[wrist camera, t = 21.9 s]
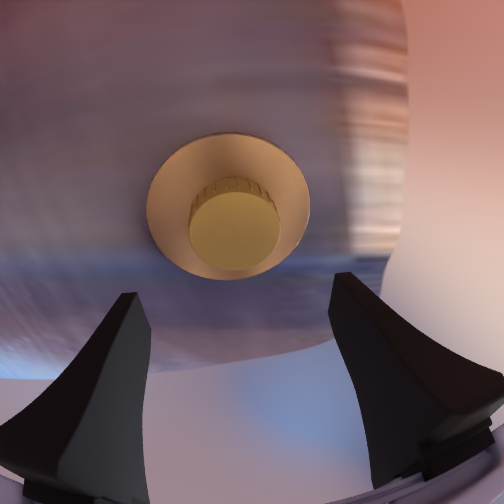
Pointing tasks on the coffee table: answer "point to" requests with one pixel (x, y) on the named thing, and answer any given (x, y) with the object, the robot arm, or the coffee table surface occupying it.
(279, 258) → the coaster
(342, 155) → the coffee table surface
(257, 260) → the lid
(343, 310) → the robot arm
